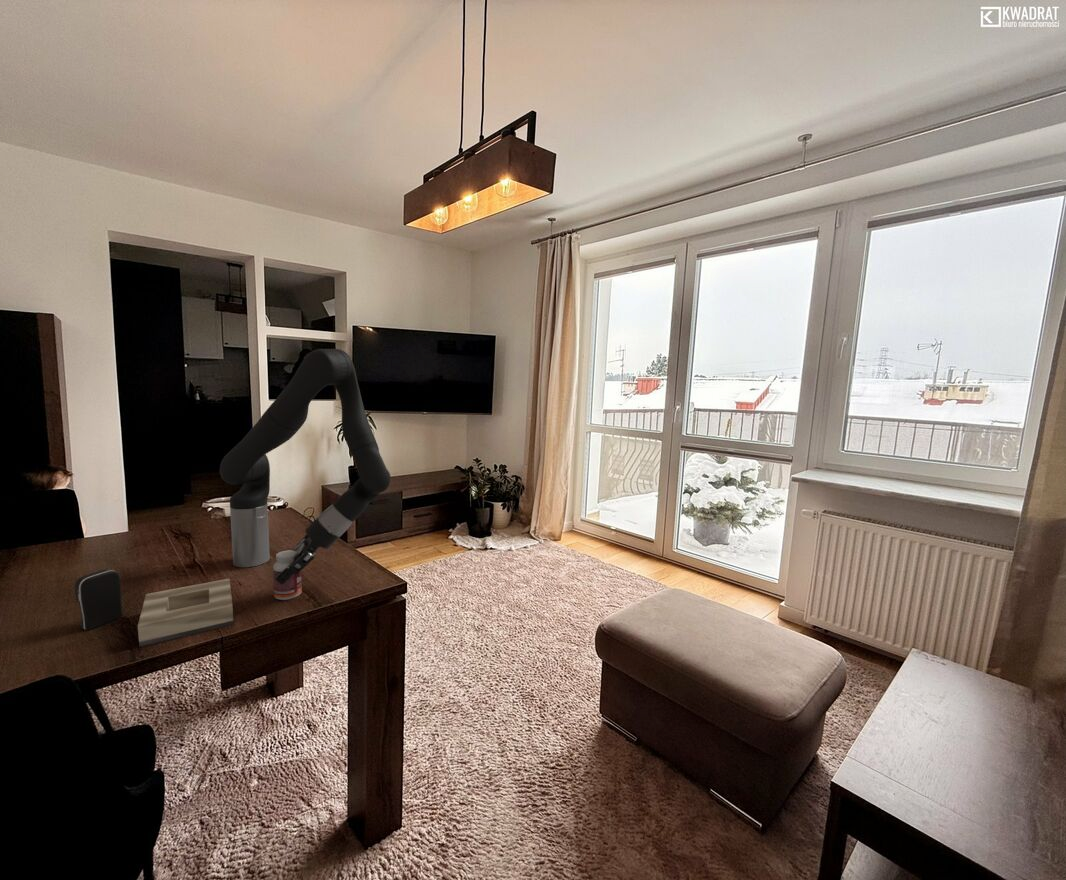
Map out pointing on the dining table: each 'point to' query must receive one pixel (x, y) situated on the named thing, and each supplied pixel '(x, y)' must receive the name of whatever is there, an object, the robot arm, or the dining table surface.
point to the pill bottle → (293, 583)
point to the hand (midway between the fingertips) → (279, 576)
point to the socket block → (185, 611)
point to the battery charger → (98, 598)
